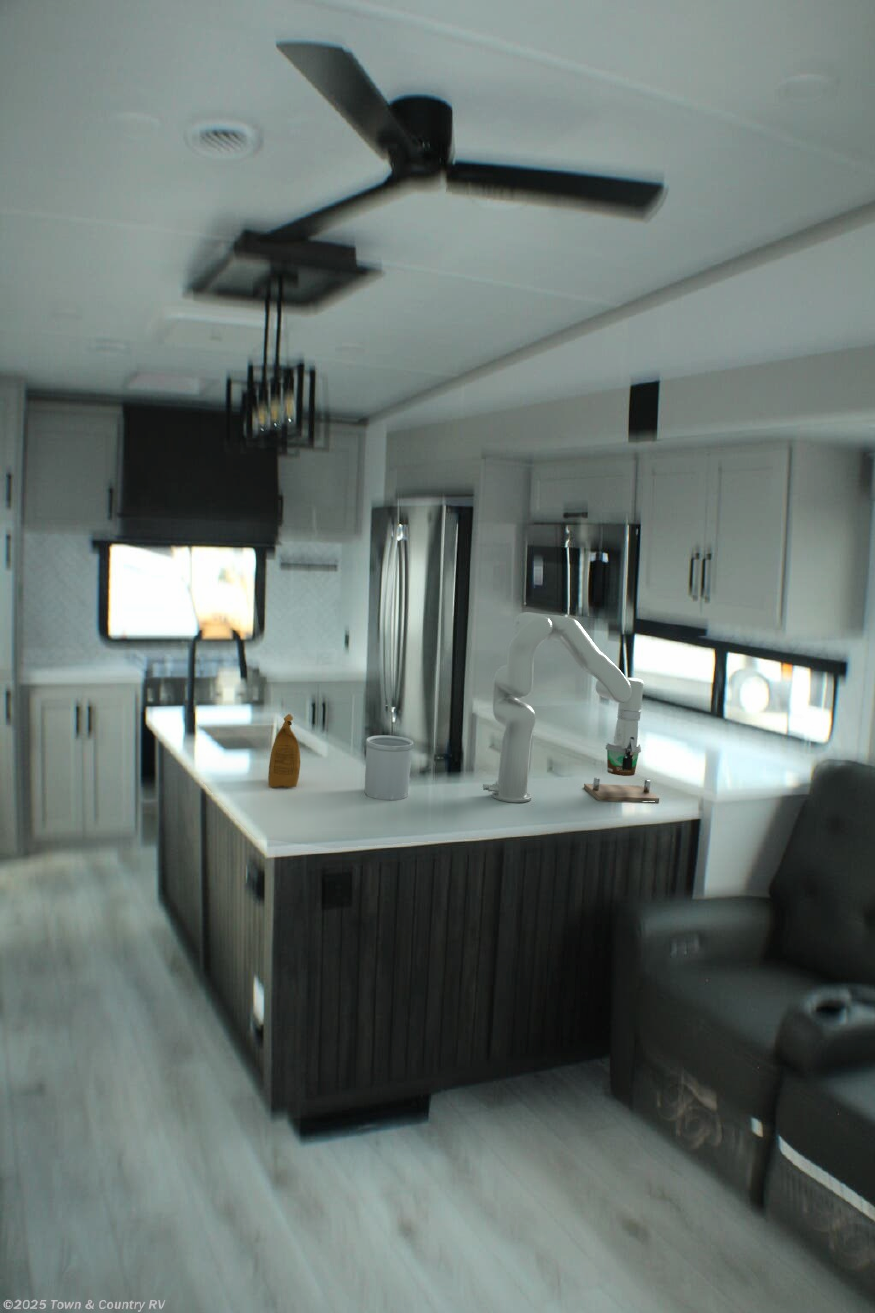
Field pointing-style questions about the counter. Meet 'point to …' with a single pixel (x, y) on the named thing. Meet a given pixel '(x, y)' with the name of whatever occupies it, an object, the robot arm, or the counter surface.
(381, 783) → the utensil holder
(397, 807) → the counter surface
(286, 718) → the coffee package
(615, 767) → the food container
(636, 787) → the board
